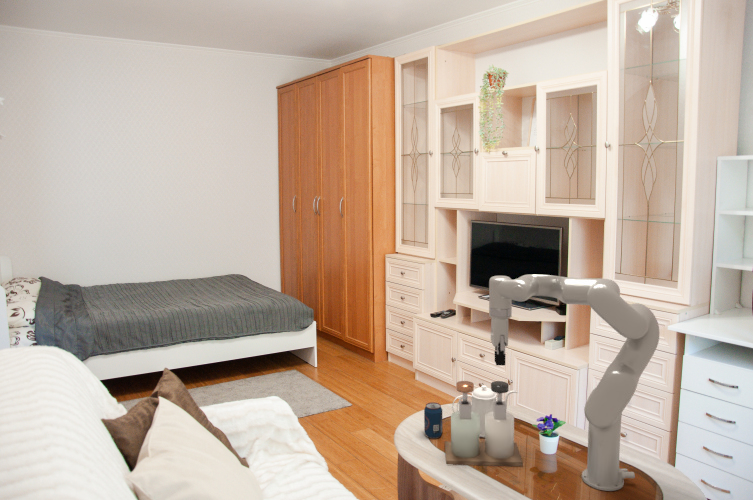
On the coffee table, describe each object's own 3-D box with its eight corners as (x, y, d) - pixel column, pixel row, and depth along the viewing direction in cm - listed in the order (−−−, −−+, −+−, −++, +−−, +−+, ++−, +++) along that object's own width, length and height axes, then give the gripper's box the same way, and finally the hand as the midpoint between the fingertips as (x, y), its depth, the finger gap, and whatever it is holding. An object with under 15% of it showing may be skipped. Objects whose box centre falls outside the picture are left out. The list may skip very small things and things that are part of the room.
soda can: (422, 431, 218) (422, 402, 216) (439, 430, 219) (439, 400, 217) (427, 440, 211) (427, 410, 209) (444, 438, 212) (444, 408, 210)
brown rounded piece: (472, 401, 199) (472, 380, 198) (474, 408, 193) (474, 387, 192) (456, 401, 200) (455, 380, 199) (457, 408, 194) (456, 387, 193)
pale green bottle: (477, 444, 203) (478, 397, 201) (480, 458, 194) (480, 409, 191) (450, 444, 204) (450, 397, 202) (451, 457, 194) (451, 408, 192)
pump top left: (507, 401, 198) (507, 381, 197) (509, 408, 192) (509, 387, 191) (489, 401, 199) (490, 381, 198) (492, 408, 193) (492, 387, 192)
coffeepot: (520, 439, 209) (520, 391, 207) (453, 438, 212) (452, 390, 209) (515, 426, 220) (516, 381, 218) (452, 425, 223) (451, 380, 220)
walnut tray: (516, 446, 204) (516, 442, 204) (522, 466, 191) (522, 462, 190) (444, 445, 207) (444, 441, 206) (446, 464, 193) (446, 460, 193)
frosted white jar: (511, 445, 202) (511, 397, 200) (515, 459, 192) (516, 409, 190) (483, 444, 203) (483, 397, 201) (486, 458, 193) (486, 409, 191)
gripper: (486, 306, 199) (486, 356, 202) (492, 318, 183) (491, 371, 186) (507, 306, 199) (507, 356, 201) (515, 317, 183) (514, 371, 185)
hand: (499, 363), depth 193 cm, fingers closed
